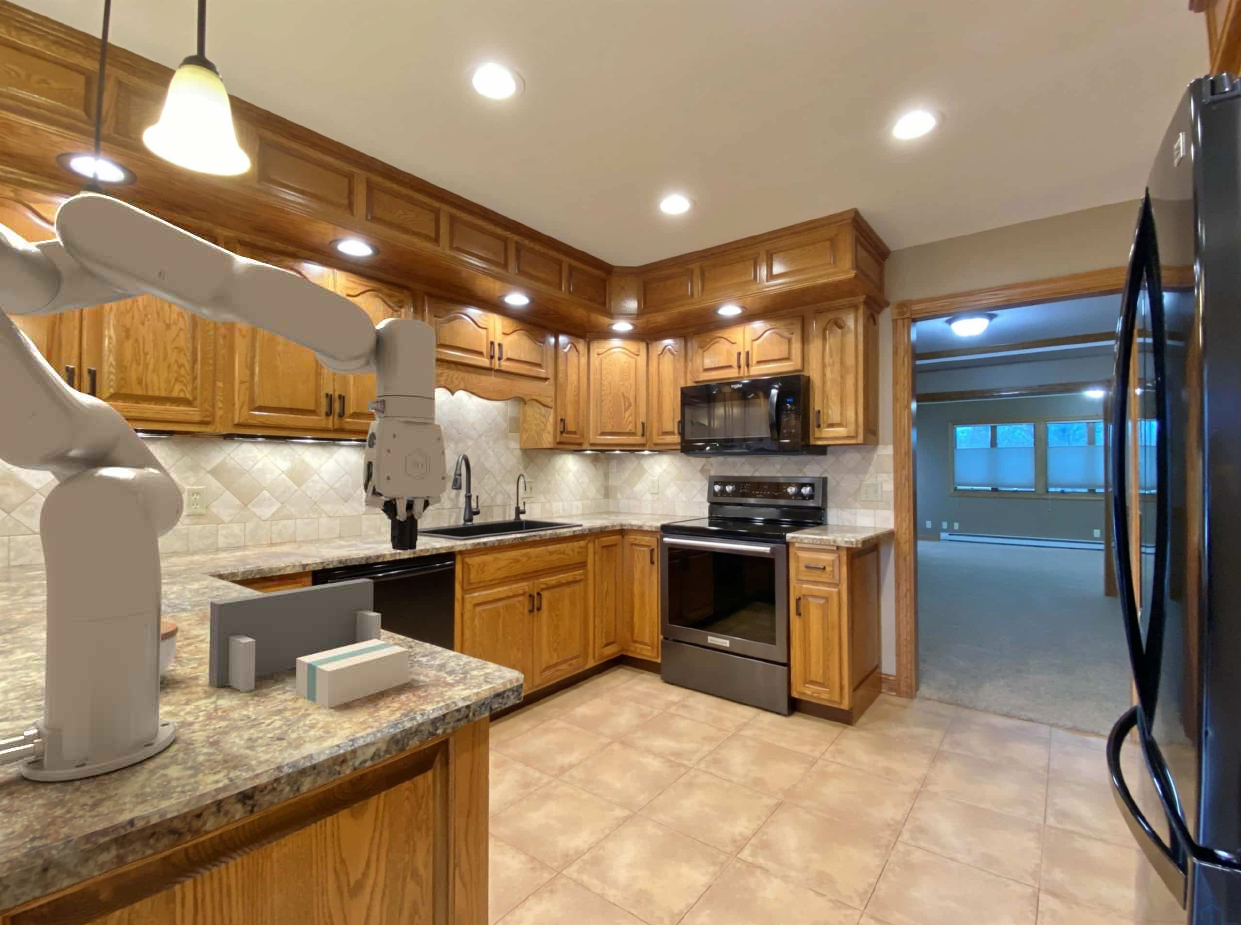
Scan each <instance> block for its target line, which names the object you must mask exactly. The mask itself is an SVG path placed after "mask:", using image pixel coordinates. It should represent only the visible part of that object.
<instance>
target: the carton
mask: <svg viewBox="0 0 1241 925" xmlns="http://www.w3.org/2000/svg"><path fill="white" fill-rule="evenodd" d="M409 654H410V650H409V648H406V647H402V646H399V645H396V644H393V643H390V642H386V641H383V640H377V639H373V640H369V641H365V642H361V643H357V644H353V645H349V646H345V647H340V648H336V649H332V650H328V651H324V652H320V653H316V654H312V655H308V656H304V657H300V658H296V667H295V669H296V670H295V673H296V674H295V675H296V676H295V694H298V695H299V696H302V697H304V698H306V699H308V700H309V701H312V702H314V703H316V704H318V705H320V706H322V707H324V708H327V709H331V708H333V707H336V706H339V705H342V704H346V703H348V702H351V701H355V700H358V699H361V698H364V697H367V696H370V695H373V694H376V693H379V692H382V691H386V690H389V689H392V688H394V687H397V686H398V687H399V686H400V685H404V684H407V683H409V671H410V670H409V668H410V667H409V666H410V665H409V659H410V658H409V657H410V655H409Z"/></svg>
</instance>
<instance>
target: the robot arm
mask: <svg viewBox="0 0 1241 925" xmlns="http://www.w3.org/2000/svg"><path fill="white" fill-rule="evenodd" d="M54 232H55V235H56V238H57V239H52V240H46V241H45V240H44V241H37V242H28V241H26V240H25V239H24V238H22V237H21V236H20V235H18V234H16V233H15V232H14V231H12V230H11V229H10V228H8V227H6V226H5V225H3V224H2V223H0V460H2V461H3V462H5V463H6V464H8V465H10V466H13V467H17V468H19V469H23V470H31V471H40V472H50V473H51V475H52V476H53V477H54V478H55V479H56V480H57V481H58V482H59V483H58V484H56V485H55V486H54V487H53V488H52V490H51V491H50V492H49V493H48V494H47V496H46V498H45V500H44V502H43V504H42V507H41V510H40V514H39V534H40V536H39V537H40V541H41V542H40V543H41V547H42V552H43V553H42V554H43V558H44V566H45V580H46V604H45V605H46V610H45V611H46V612H45V613H46V614H45V619H46V628H45V629H46V631H45V633H46V635H45V638H46V639H45V668H44V670H45V672H44V699H43V700H44V701H43V702H44V703H43V704H44V705H43V706H44V708H43V709H44V710H43V718H39V719H36V720H34V728H32V729H29V730H23V731H22V733H21V735H20V736H16V737H12V738H8V739H0V767H3V766H5V765H10V764H13V763H17V762H19V761H21V766H20V767H21V768H20V769H21V770H20V771H21V775H22V776H23V777H24V778H26V779H29V780H31V781H39V782H61V781H70V780H78V779H83V778H88V777H94V776H97V775H102V774H106V773H109V772H112V771H116V770H119V769H123V768H126V767H129V766H132V765H133V764H136V763H139V762H141V761H144V760H147V758H150V757H152V756H154V755H156V754H158V753H159V752H161V751H163V750H164V749H166V748H167V747H169V745H171V743H172V742H173V741H174V740H175V738H176V730H177V728H176V725H175V723H173V722H172V721H170V720H167V719H162V718H160V693H161V688H160V687H161V676H160V656H161V622H162V607H163V605H162V593H163V592H162V591H163V590H162V587H163V586H162V585H163V584H162V580H163V579H162V565H161V557H160V550H159V549H160V548H159V539H160V538H162V537H163V536H165V535H167V534H168V533H169V532H171V531H172V530H173V529H174V528H175V527H176V526H177V524H178V523H179V521H180V519H181V517H182V516H183V512H184V496H183V493H182V492H181V489H180V487H179V486H178V484H177V482H176V480H174V478H173V477H172V475H171V474H170V473H169V472H168V471H167V469H166V468H165V467H164V466H163V464H162V463H161V461H159V460H158V458H157V457H156V456H155V454H154V453H153V451H152V450H151V449H150V448H149V447H148V445H147V444H146V443H145V442H144V441H143V439H142V438H141V437H140V436H139V435H138V433H137V432H136V431H135V430H134V428H133V427H132V426H131V424H130V423H129V422H128V421H127V420H126V419H125V417H124V416H122V415H121V414H120V412H119V411H117V410H116V409H115V408H114V407H112V406H111V405H110V404H109V403H107V402H105V401H103V400H101V399H99V398H97V397H95V396H93V395H90V394H86V393H84V392H83V393H82V392H79V391H78V390H76V389H74V388H73V387H71V386H70V385H69V384H68V383H67V382H65V380H64V379H63V378H62V377H61V376H60V375H59V374H58V373H57V372H56V370H55V368H53V367H52V366H51V365H50V363H49V362H48V361H47V360H46V359H45V357H44V355H43V354H41V352H40V351H39V349H38V348H37V346H36V345H35V344H34V343H33V342H32V341H31V339H30V338H29V337H28V336H27V335H26V334H25V332H23V330H21V329H20V327H18V326H17V324H15V322H13V321H12V320H11V318H10V317H9V316H15V317H30V318H31V317H42V316H43V317H45V316H49V315H55V314H62V313H66V312H67V313H68V312H71V311H78V310H83V309H87V308H92V307H97V306H103V305H108V304H113V303H117V302H118V303H119V302H124V301H128V300H132V299H136V298H139V297H143V296H147V295H149V296H152V297H154V298H156V299H158V300H160V301H164V302H166V303H169V304H170V305H173V306H175V307H177V308H179V309H181V310H184V311H186V312H189V313H191V314H193V315H196V316H197V317H200V318H203V319H204V320H209V321H212V322H215V323H240V324H243V325H248V326H251V327H254V328H258V329H261V330H263V331H266V332H269V333H270V334H273V335H275V336H277V337H278V336H279V337H280V338H283V339H285V340H287V341H290V342H292V343H294V344H296V345H299V346H301V347H303V348H305V349H306V350H307V349H308V350H310V351H312V352H313V354H314V356H315V358H316V359H317V361H318V362H319V363H320V365H322V367H323V368H325V369H326V370H328V371H330V372H332V373H335V374H338V375H344V376H355V375H369V374H370V375H372V374H375V397H374V400H368V402H367V403H366V408H367V411H369V412H373V413H374V414H373V415H374V418H375V420H373V421H371V422H370V424H369V425H370V426H369V428H368V433H367V436H366V438H367V439H366V444H365V451H364V457H363V458H364V460H363V469H362V470H363V472H362V475H363V476H362V482H363V484H362V486H363V490H364V491H363V492H364V493H365V497H364V501H363V502H364V505H365V506H366V507H371V508H376V509H380V510H381V511H382V512H383V513H384V514H385V515H386V519H387V520H390V543H391V549H392V550H394V551H395V550H396V551H401V552H407V551H415V550H416V549H417V541H418V534H419V532H418V529H419V528H418V525H419V520H421V519H422V517H423V514H424V512H425V511H426V510H427V509H428V508H429V507H432V506H434V505H438V504H440V503H441V501H442V498H441V496H442V495H443V494H444V493H446V490H447V462H446V461H447V460H446V450H445V441H444V437H443V431H442V427H441V425H440V424H438V423H437V424H436V360H437V359H436V356H437V354H436V346H437V345H436V344H437V343H436V332H435V329H434V328H433V327H432V325H431V324H429V323H427V322H424V321H422V320H420V319H414V318H405V317H393V318H387V319H384V320H383V321H381V322H379V324H378V325H376V324H375V322H374V321H373V320H372V318H371V316H370V315H369V314H368V313H367V311H365V310H364V309H363V308H362V307H361V306H360V305H359V304H357V303H355V302H354V301H353V300H350V299H349V298H347V297H344V296H343V295H341V294H338V293H336V292H334V291H333V290H330V289H328V288H326V287H324V286H322V285H319V284H318V283H316V282H313V281H311V280H310V279H307V278H305V277H304V276H301V275H299V274H296V273H293V272H291V271H289V270H286V269H284V268H280V267H277V266H273V265H271V264H267V263H263V262H260V261H258V260H254V259H253V258H252V259H251V258H247V257H244V256H240V255H237V254H235V253H233V252H230V251H229V250H226V249H224V248H222V247H220V246H217V245H215V244H213V243H211V242H209V241H207V240H205V239H202V238H201V237H198V236H196V235H194V234H192V233H190V232H189V231H185V230H184V229H181V228H180V227H177V226H175V225H173V224H171V223H169V222H167V221H165V220H163V219H160V218H158V217H157V216H154V215H151V214H149V213H148V212H145V211H144V210H142V209H139V208H138V207H135V206H133V205H130V204H128V203H127V202H124V201H122V200H120V199H116V198H113V197H110V196H107V195H103V194H96V193H86V194H78V195H75V196H72V197H70V198H68V199H67V200H65V201H64V202H63V203H62V204H61V205H60V206H59V208H58V210H57V211H56V213H55V217H54Z"/></svg>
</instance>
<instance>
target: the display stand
mask: <svg viewBox="0 0 1241 925" xmlns="http://www.w3.org/2000/svg"><path fill="white" fill-rule="evenodd" d="M209 611H210V612H209V613H210V614H209V650H208V651H209V652H208V653H209V654H208V656H209V658H208V684H210V685H211V686H213V687H215V688H219V687H224V686H230V687H232V688H234V689H236V690H238V691H240V692H242V693H245V692H250V691H253V690H255V683H256V682H255V679H256V678H259V677H263V676H267V675H270V674H275V673H279V672H283V671H286V670H290V669H293V668H294V669H296V658H300V657H304V656H308V655H312V654H316V653H320V652H324V651H328V650H332V649H336V648H340V647H345V646H349V645H353V644H357V643H361V642H365V641H369V640H373V639H377V640H381V636H382V635H381V631H382V630H381V627H382V626H381V625H382V623H381V622H382V614H381V613H378V612H374V580H373V579H369V578H359V579H358V578H357V579H353V580H344V581H338V582H333V583H332V582H331V583H325V584H317V585H312V586H306V587H305V586H304V587H298V588H293V589H284V590H279V591H272V592H265V593H257V594H251V595H243V596H238V597H232V598H224V599H218V600H217V599H216V600H211V601H210V607H209ZM381 641H382V640H381Z"/></svg>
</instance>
